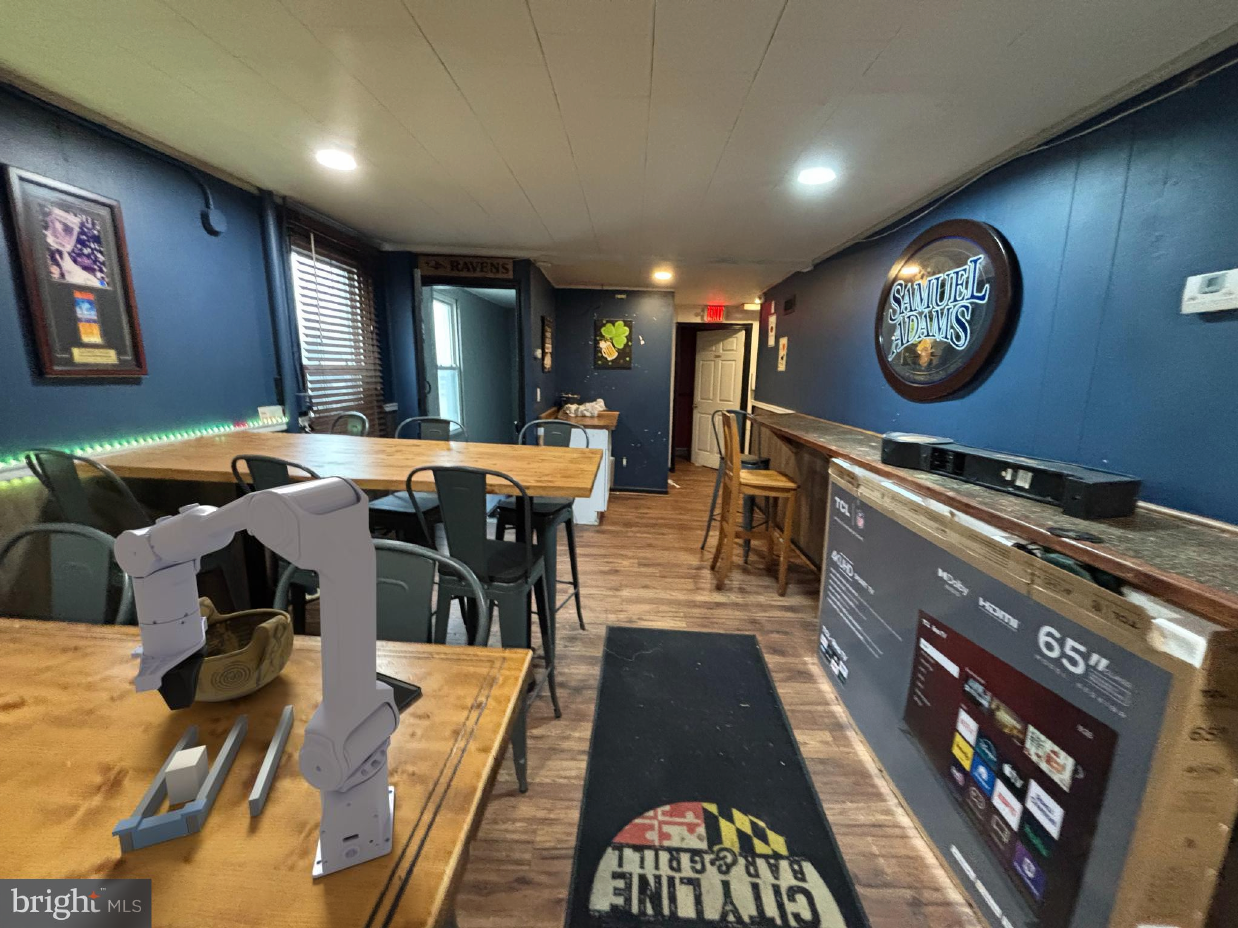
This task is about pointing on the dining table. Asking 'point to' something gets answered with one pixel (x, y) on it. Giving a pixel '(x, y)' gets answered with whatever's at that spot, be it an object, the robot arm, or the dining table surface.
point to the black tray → (400, 690)
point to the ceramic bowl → (242, 651)
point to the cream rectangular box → (186, 774)
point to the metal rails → (190, 819)
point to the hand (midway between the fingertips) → (182, 705)
